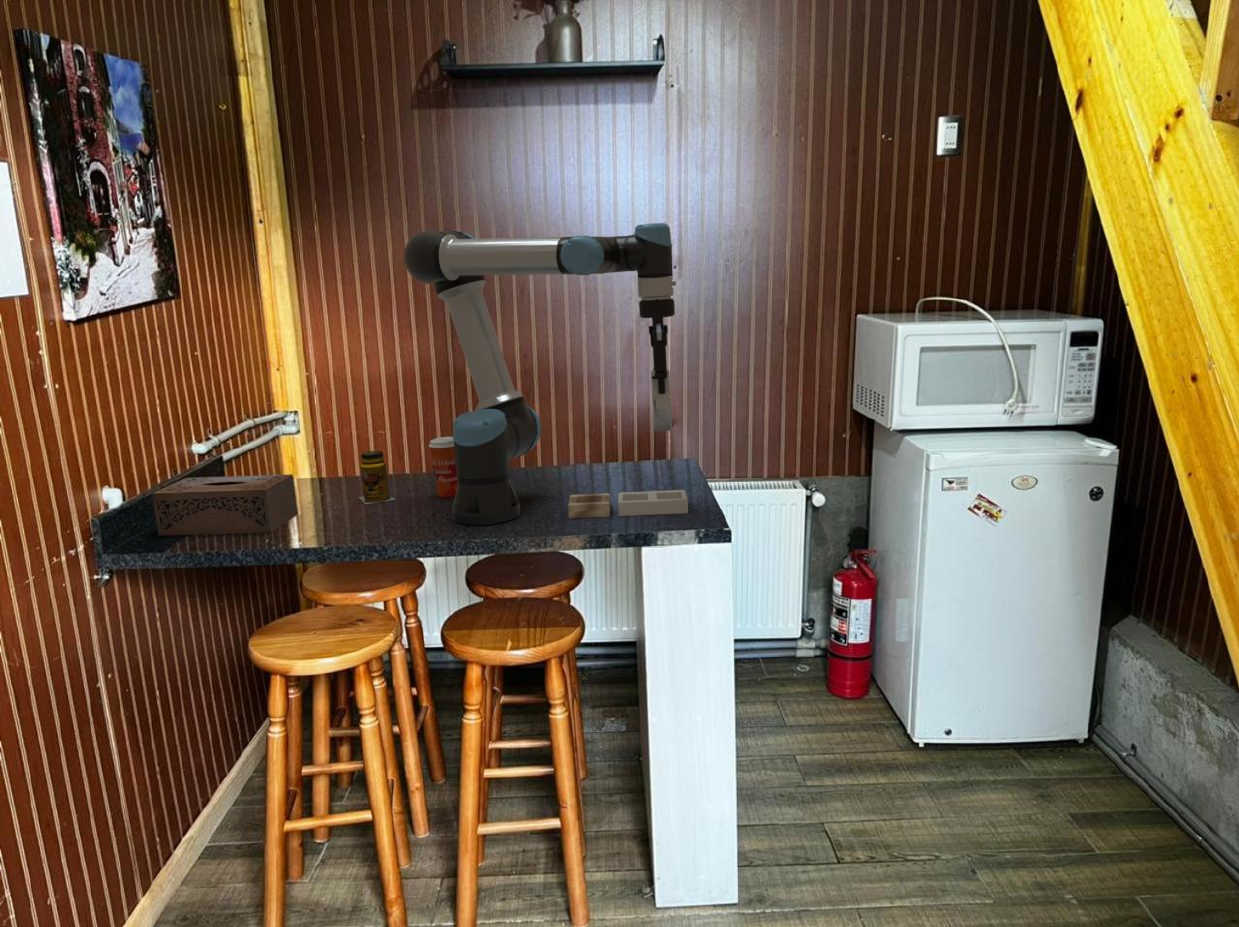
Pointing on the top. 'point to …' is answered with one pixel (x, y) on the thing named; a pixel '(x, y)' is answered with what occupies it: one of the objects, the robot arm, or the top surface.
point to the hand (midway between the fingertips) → (662, 406)
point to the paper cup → (444, 466)
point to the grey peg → (661, 415)
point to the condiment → (374, 478)
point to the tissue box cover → (225, 505)
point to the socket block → (589, 505)
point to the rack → (652, 503)
